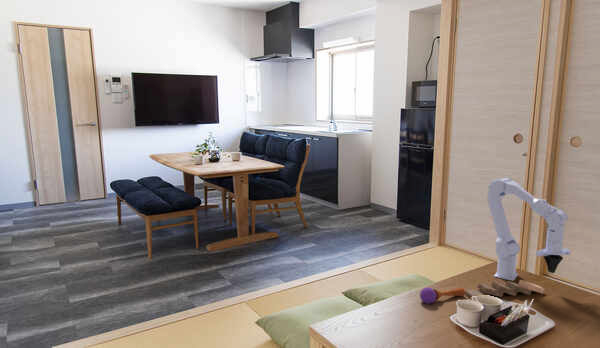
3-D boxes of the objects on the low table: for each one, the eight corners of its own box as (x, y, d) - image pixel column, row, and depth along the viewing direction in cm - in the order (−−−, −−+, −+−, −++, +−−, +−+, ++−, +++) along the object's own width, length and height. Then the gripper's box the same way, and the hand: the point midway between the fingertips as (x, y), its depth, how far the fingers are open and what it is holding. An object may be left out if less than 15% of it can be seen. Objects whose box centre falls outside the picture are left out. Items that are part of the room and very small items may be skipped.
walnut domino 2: (496, 287, 169) (478, 283, 168) (503, 292, 164) (485, 288, 163) (494, 291, 169) (477, 287, 168) (502, 297, 164) (484, 292, 163)
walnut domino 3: (509, 286, 170) (493, 281, 168) (517, 291, 165) (500, 286, 163) (507, 290, 170) (491, 285, 168) (515, 296, 165) (499, 290, 163)
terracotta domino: (535, 284, 172) (520, 279, 170) (544, 289, 167) (529, 284, 165) (533, 288, 172) (518, 284, 170) (542, 293, 168) (527, 289, 165)
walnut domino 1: (483, 289, 168) (465, 290, 166) (491, 294, 163) (472, 296, 161) (483, 294, 168) (464, 295, 167) (490, 299, 163) (472, 300, 162)
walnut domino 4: (522, 285, 171) (507, 280, 169) (531, 290, 166) (516, 285, 164) (521, 290, 171) (505, 285, 169) (530, 295, 166) (514, 290, 164)
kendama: (469, 289, 162) (428, 293, 154) (465, 302, 164) (425, 307, 156) (458, 281, 167) (418, 285, 159) (454, 293, 169) (415, 298, 161)
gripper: (546, 244, 163) (543, 277, 165) (578, 242, 165) (574, 274, 167) (533, 238, 169) (530, 270, 171) (563, 237, 172) (560, 268, 174)
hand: (551, 272), depth 170 cm, fingers closed
